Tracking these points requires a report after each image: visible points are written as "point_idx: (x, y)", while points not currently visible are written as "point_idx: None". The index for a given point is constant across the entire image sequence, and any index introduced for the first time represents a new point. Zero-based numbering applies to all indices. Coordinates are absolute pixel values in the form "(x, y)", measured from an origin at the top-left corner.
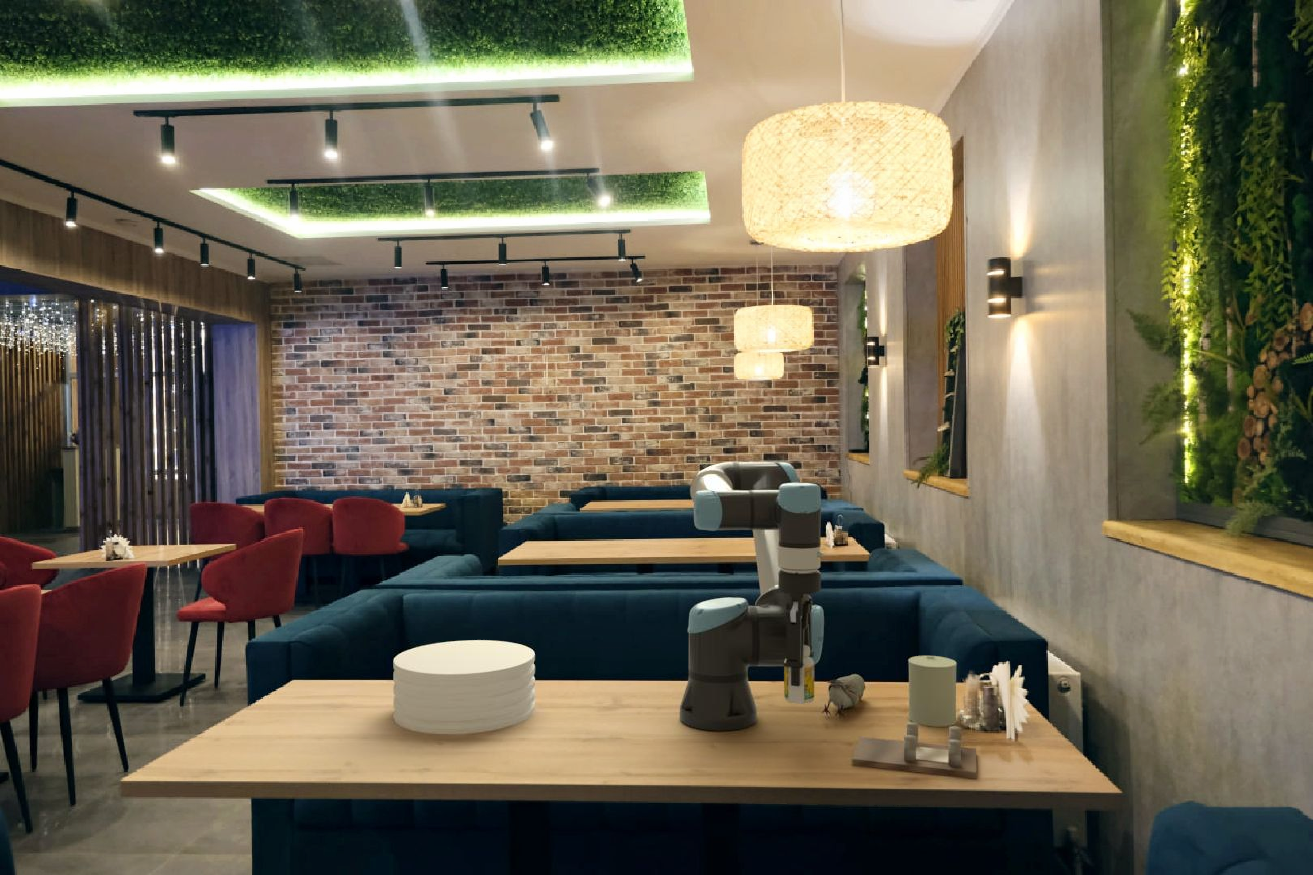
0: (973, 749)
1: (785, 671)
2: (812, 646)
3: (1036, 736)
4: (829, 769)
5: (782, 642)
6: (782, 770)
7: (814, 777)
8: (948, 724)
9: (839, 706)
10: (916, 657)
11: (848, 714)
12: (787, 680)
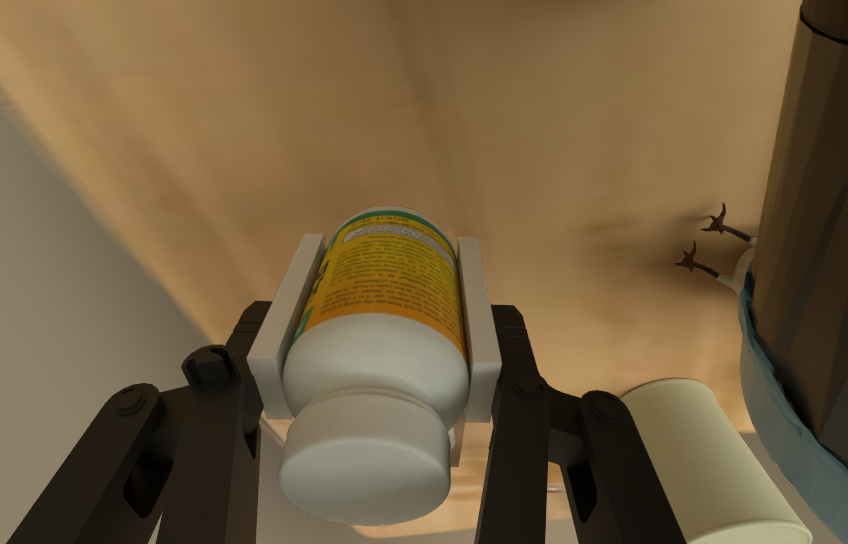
0: (452, 464)
1: (324, 298)
2: (757, 418)
3: (565, 506)
4: (259, 269)
5: (823, 290)
6: (181, 163)
7: (186, 245)
8: None
9: (739, 259)
10: (797, 532)
11: (717, 267)
12: (319, 280)
